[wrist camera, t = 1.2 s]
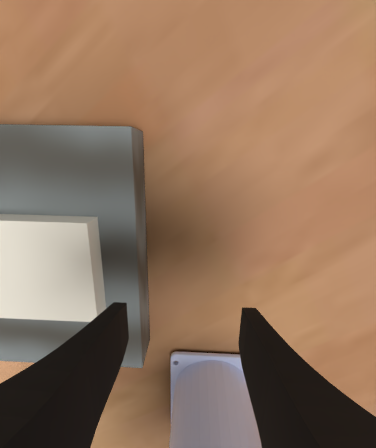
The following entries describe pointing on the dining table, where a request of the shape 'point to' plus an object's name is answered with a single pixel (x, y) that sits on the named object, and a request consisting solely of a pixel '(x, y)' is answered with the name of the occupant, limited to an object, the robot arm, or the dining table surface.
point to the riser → (81, 206)
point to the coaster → (50, 268)
